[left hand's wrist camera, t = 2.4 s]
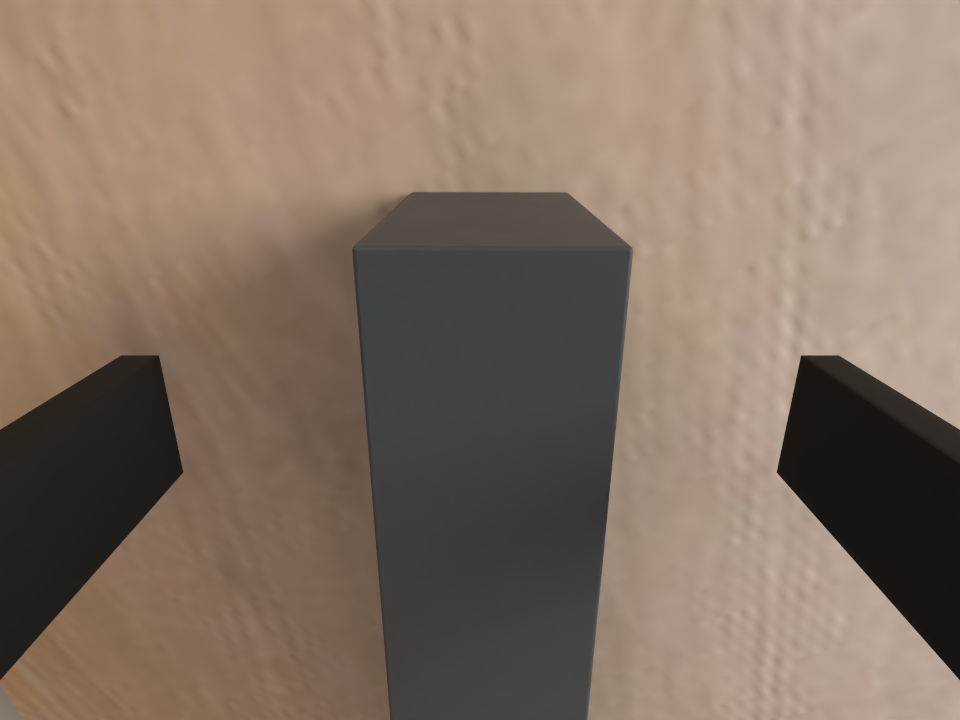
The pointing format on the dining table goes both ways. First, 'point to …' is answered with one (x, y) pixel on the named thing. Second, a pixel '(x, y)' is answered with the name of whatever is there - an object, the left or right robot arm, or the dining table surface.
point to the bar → (490, 446)
